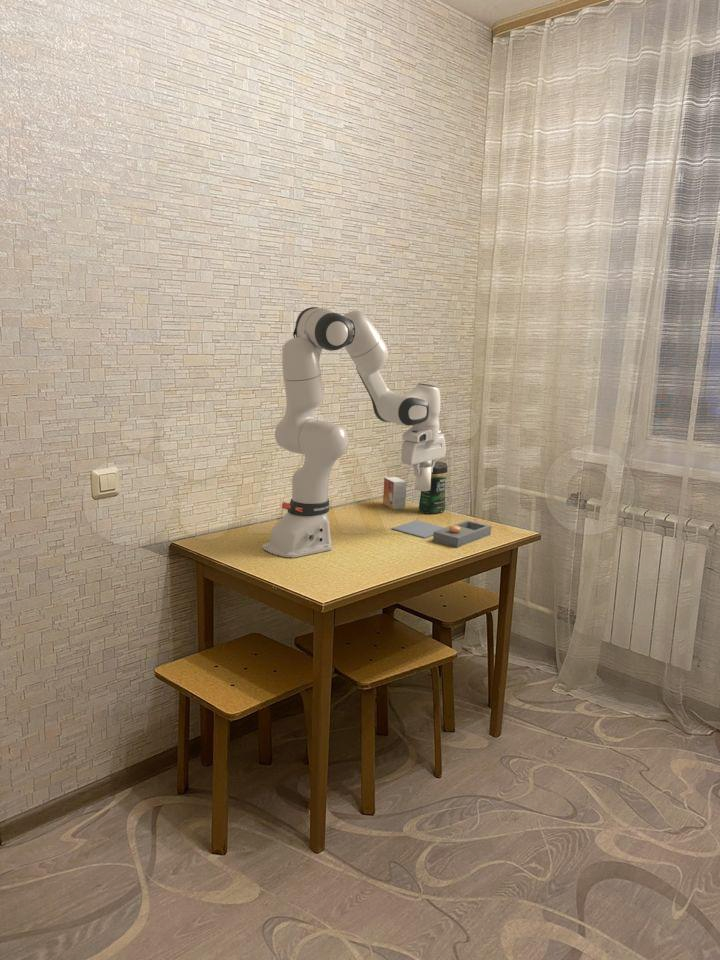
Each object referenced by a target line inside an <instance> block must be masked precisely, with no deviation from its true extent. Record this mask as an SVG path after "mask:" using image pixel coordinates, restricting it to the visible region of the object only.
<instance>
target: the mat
mask: <svg viewBox="0 0 720 960" xmlns="http://www.w3.org/2000/svg"><path fill="white" fill-rule="evenodd" d="M443 528H446V527H444V526H440V525H437V524H432V523H429V522H426V521H420V520H418V519H416V520H413V521H409V522H407V523H404V524H400V525H397V526H394V527H391V528H390V530H391V531H397V532H401V533H403V534H408V535H411V536H415V537H419V538H421V539H428V538H431V537H433V535H434V532H435V531H437V530H440V529H443Z"/></svg>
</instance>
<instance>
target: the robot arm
mask: <svg viewBox="0 0 720 960" xmlns="http://www.w3.org/2000/svg"><path fill="white" fill-rule="evenodd" d="M292 336H293V338H291V339H289V340H287V341H286V342H284V344H283V346H282V355H281V356H282V357H281V359H282V361H281V363H282V365H281V366H282V374H283V375H282V376H283V377H282V378H283V383H284V390H285V391H284V392H285V399H286V402H285V404H286V405H285V412H284V416H283V418H282V419H280V420H279V422H278V424H276V426H275V431H274V438H275V442H276V443H277V445H278V446H279V447H280V448H282V449H284V450H286V451H289V452H291V453H295V454H299V455H304V462H303V465H302V467H300V468H298V469H297V470H295V471H294V473H293V474H292V479H291V480H292V481H291V482H292V487H291V495H292V496H291V499H290V501H289V502H286V501H283V502H282V503H281V508H282V509H285V510H287V512H286V513H285V514H284V516H283V517H282V518H281V519H280V520H279V521H278V522H277V523H276V524H275V525H274V526H273V527H272V529H271V532H270V537H269V541H268V542H265V543H263V544H262V549H263V550H264V551H265V550H266V552H267V551H268V552H267V553H269V552H270V554H272V553H273V554H272V555H275V556H278V555H279V557H284V558H290V557H291V559H293V558H298V557H303V556H308V555H314V554H317V553H322V552H323V553H324V552H328V551H332V550H333V540H332V537H331V528H330V521H329V512H330V500H329V484H330V482H329V481H330V474H331V471H332V469H333V466H334V465H335V463H336V461H337V460H339V458H341V457H342V456H343V455H344V454H345V453H346V451H347V450H348V447H349V435H348V433H347V431H346V429H345V428H344V427H342V426H339V425H338V424H335V423H333V422H329V421H324V420H318V419H316V418H315V410H316V408H317V407H319V406H320V405H321V404H322V402H323V400H324V398H325V395H324V392H325V391H324V385H323V379H322V372H321V371H322V370H321V365H320V359H321V353H322V352H323V350H326V351H338V350H341V349H343V348H344V349H345V350H346V352H347V354H348V355H349V357H350V359H351V360H352V362H353V363H354V366H355V369H356V372H357V374H358V376H359V377H360V379H361V381H362V384H363V386H364V387H365V390H366V391H367V393H368V395H369V398H370V399H371V403H372V408H373V412H374V415H375V417H376V418H377V419H378V420H380V421H381V422H384V423H392V424H397V425H400V426H405V427H406V426H407V427H410V426H412V427H410V428H409V429H407V430H406V431H405V432H404V433H402V435H401V437H402V441H403V442H402V445H401V462H402V463H403V464H404V465H407V466H412V469H413V473H414V476H415V477H416V476H421V471H420V469H419V466H420V463H423V462H425V461H430V460H432V467H431V473H432V472H433V467H434V465H435V462H437V461H436V460H439V459H443V458H445V457H446V454H447V448H446V447H447V446H446V438H445V433H444V432H443V431H442V430H440V418H439V417H440V413H441V405H442V403H441V401H442V400H441V399H442V398H441V390H440V388H438V386H435V385H433V384H428V383H422V382H421V383H417V384H416V385H415V387H413V388H412V389H411V390H410V391H408V392H407V393H404V394H401V393H398V392H395V391H393V390H390V388H389V387H388V385H387V384H386V382H385V380H384V378H383V375H381V373H380V369H382V368H383V367H384V366H385V364H386V363H387V361H388V357H389V351H388V350H389V349H388V348H387V345H386V343H385V341H384V339H383V337H382V336H381V334H380V333H379V331H378V330H377V328H376V327H375V326H374V324H373V323H372V321H371V320H370V318H368V317H367V316H366V315H365V314H364V312H362V311H360V310H359V311H358V310H354V311H353V310H352V311H349V312H347V313H344V315H342V314H340V313H337V312H334V311H332V310H330V309H328V308H327V309H326V308H323V307H316V306H312V307H308V308H305V309H303V310H301V312H300V313H299V314H298V316H297V318H296V321H295V328H294V330H293V334H292Z"/></svg>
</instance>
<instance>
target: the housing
mask: <svg viewBox="0 0 720 960" xmlns="http://www.w3.org/2000/svg"><path fill="white" fill-rule="evenodd" d="M453 525H454V526H460V527H461V529H460V532H459V533H452V532H449V526H447V527H445V528H443V529H440V530H437V531H435V532H434V535H433V536H432V538H433V539H432V541H433V542H437V543H440V544H444V545H448V546H450V547H454V548H459V547H462V545H463V546H465V545H467V543H468V544H471V543H472V542H473V543H474V542H475V540H476V541H478V540H480V539H483V538H486V537H488V536H491V535H492V525H489V524H484V523H480V522H476V521H472V520H468V519H466V520H464V521H461V522H458V523H456V524H455V523H454V524H452V525H451V526H453Z"/></svg>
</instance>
